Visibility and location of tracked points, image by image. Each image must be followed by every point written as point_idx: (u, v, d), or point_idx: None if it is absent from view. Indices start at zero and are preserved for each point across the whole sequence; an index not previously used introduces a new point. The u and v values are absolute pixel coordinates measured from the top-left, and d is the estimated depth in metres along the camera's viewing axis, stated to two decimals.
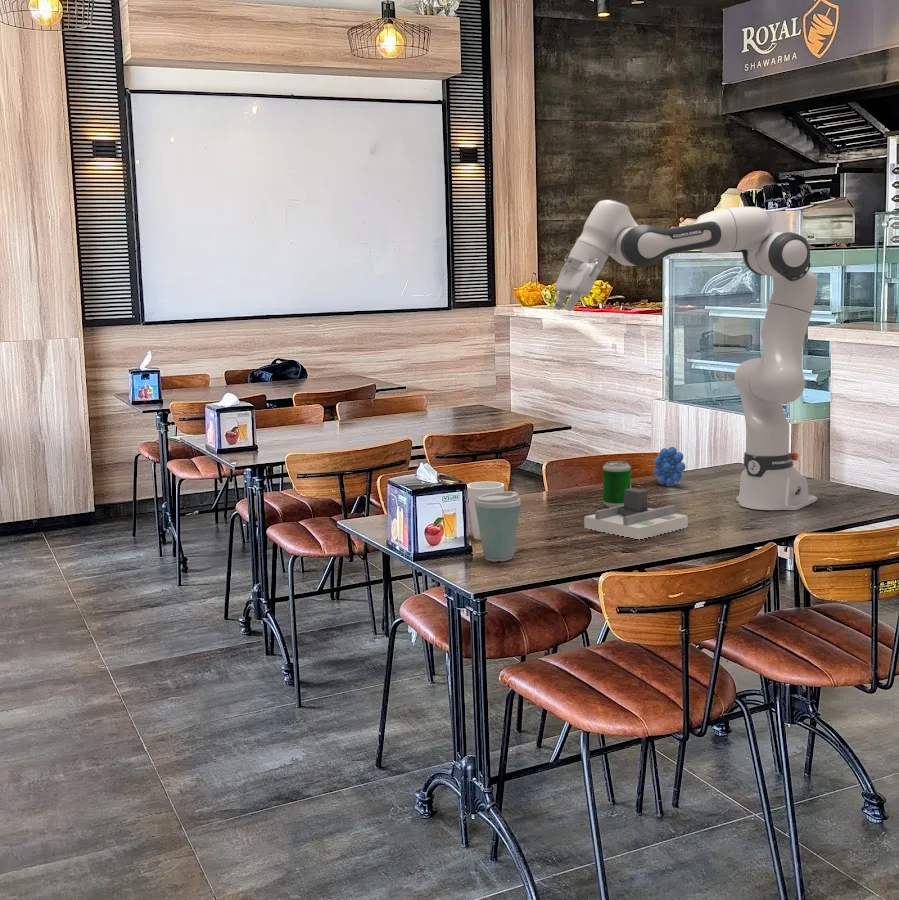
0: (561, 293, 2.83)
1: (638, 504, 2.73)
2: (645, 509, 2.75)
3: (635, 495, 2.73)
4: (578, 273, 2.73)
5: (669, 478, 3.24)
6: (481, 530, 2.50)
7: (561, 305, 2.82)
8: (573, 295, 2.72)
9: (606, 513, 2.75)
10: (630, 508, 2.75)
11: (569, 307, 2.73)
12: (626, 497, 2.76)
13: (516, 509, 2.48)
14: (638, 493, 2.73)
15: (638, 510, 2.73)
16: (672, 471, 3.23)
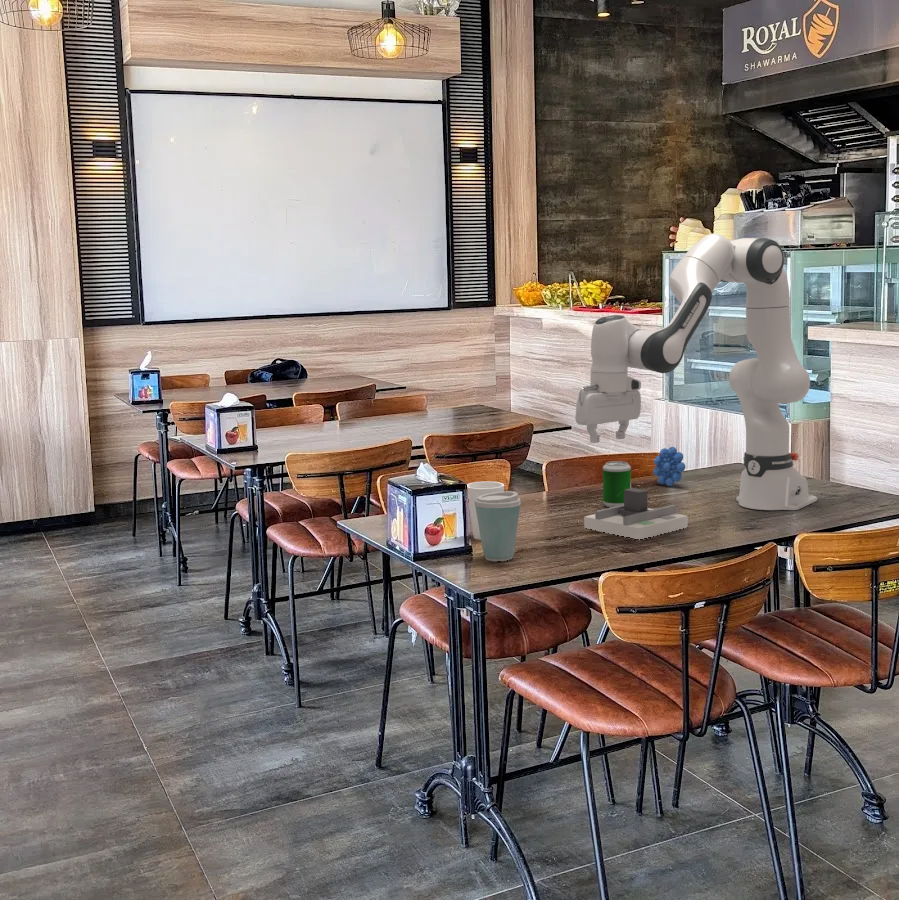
0: (620, 422, 2.72)
1: (638, 504, 2.73)
2: (645, 509, 2.75)
3: (635, 495, 2.73)
4: None
5: (669, 478, 3.24)
6: (481, 530, 2.50)
7: (620, 434, 2.71)
8: (587, 427, 2.64)
9: (606, 513, 2.75)
10: (630, 508, 2.75)
11: (592, 439, 2.65)
12: (626, 497, 2.76)
13: (516, 509, 2.48)
14: (638, 493, 2.73)
15: (638, 510, 2.73)
16: (672, 471, 3.23)
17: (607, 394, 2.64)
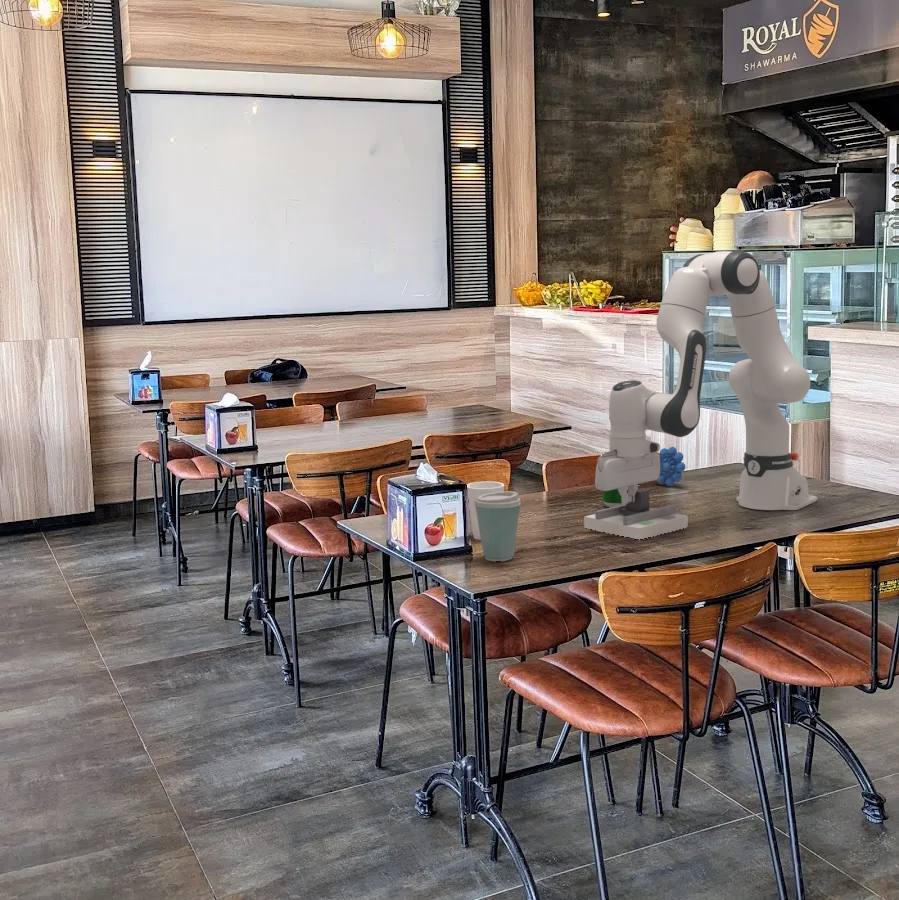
0: (629, 485, 2.74)
1: (640, 503, 2.73)
2: (647, 509, 2.75)
3: (636, 495, 2.74)
4: None
5: (669, 478, 3.24)
6: (481, 530, 2.50)
7: None
8: (618, 489, 2.72)
9: (606, 513, 2.75)
10: (632, 508, 2.76)
11: (624, 500, 2.73)
12: None
13: (516, 509, 2.48)
14: (640, 493, 2.73)
15: (640, 510, 2.74)
16: (672, 471, 3.23)
17: (626, 459, 2.69)
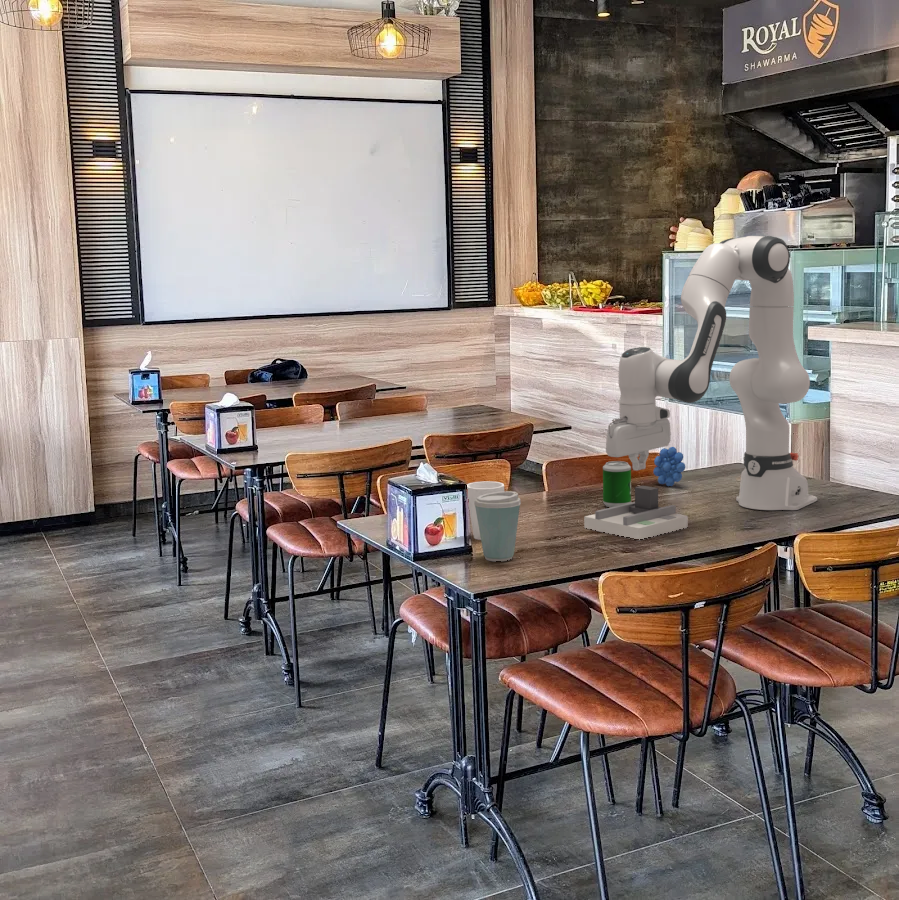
0: (640, 452, 2.75)
1: (649, 501, 2.76)
2: (656, 506, 2.77)
3: (646, 493, 2.76)
4: None
5: (669, 478, 3.24)
6: (481, 530, 2.50)
7: None
8: (629, 456, 2.73)
9: (606, 513, 2.75)
10: (641, 505, 2.78)
11: (635, 467, 2.74)
12: (637, 494, 2.78)
13: (516, 509, 2.48)
14: (649, 491, 2.75)
15: (649, 507, 2.76)
16: (672, 471, 3.23)
17: (636, 425, 2.70)
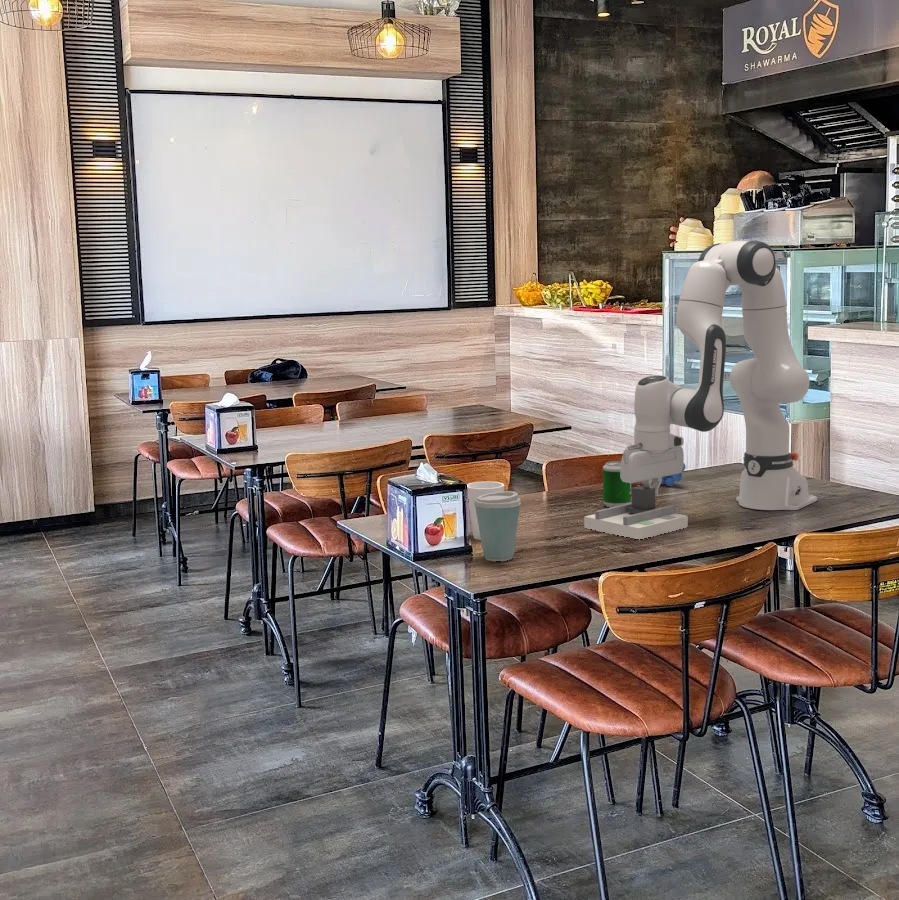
0: (653, 478, 2.80)
1: (646, 502, 2.75)
2: (653, 507, 2.76)
3: (643, 493, 2.75)
4: None
5: (669, 478, 3.24)
6: (481, 530, 2.50)
7: None
8: (643, 482, 2.78)
9: (606, 513, 2.75)
10: (638, 506, 2.77)
11: None
12: (634, 495, 2.78)
13: (516, 509, 2.48)
14: (646, 491, 2.74)
15: (646, 508, 2.75)
16: None
17: (650, 452, 2.75)
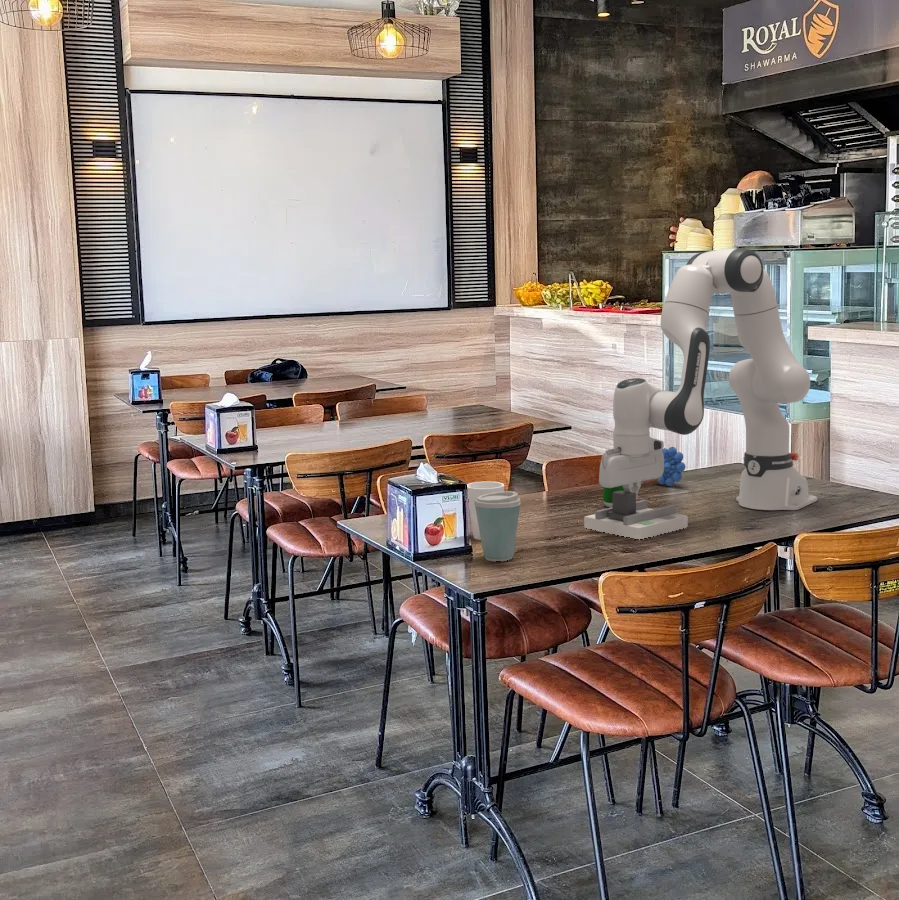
0: None
1: (626, 507, 2.70)
2: (634, 512, 2.72)
3: (623, 498, 2.71)
4: None
5: (669, 478, 3.24)
6: (481, 530, 2.50)
7: None
8: (623, 486, 2.73)
9: (606, 513, 2.75)
10: (618, 511, 2.73)
11: None
12: (615, 499, 2.73)
13: (516, 509, 2.48)
14: (626, 496, 2.70)
15: (626, 513, 2.71)
16: (672, 471, 3.23)
17: (630, 456, 2.70)
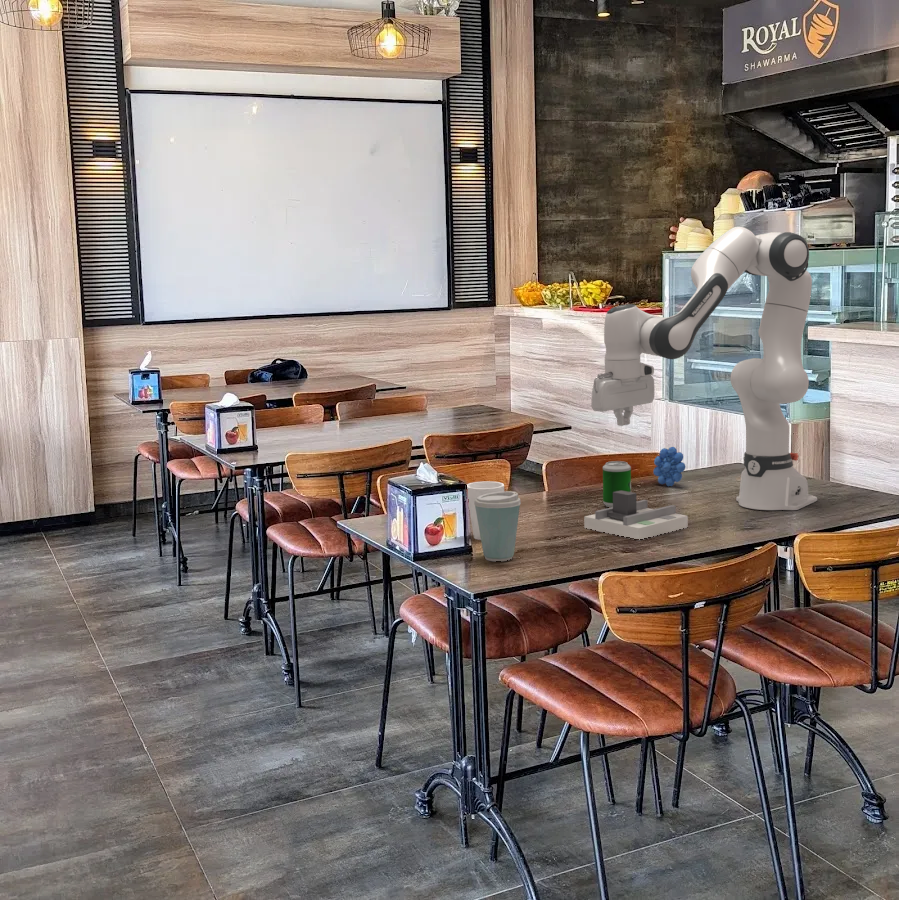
0: (624, 408, 2.80)
1: (627, 507, 2.71)
2: (634, 512, 2.72)
3: (624, 498, 2.71)
4: None
5: (669, 478, 3.24)
6: (481, 530, 2.50)
7: None
8: (614, 411, 2.78)
9: (606, 513, 2.75)
10: (619, 511, 2.73)
11: (619, 422, 2.79)
12: (615, 499, 2.73)
13: (516, 509, 2.48)
14: (627, 496, 2.70)
15: (627, 513, 2.71)
16: (672, 471, 3.23)
17: (621, 380, 2.75)
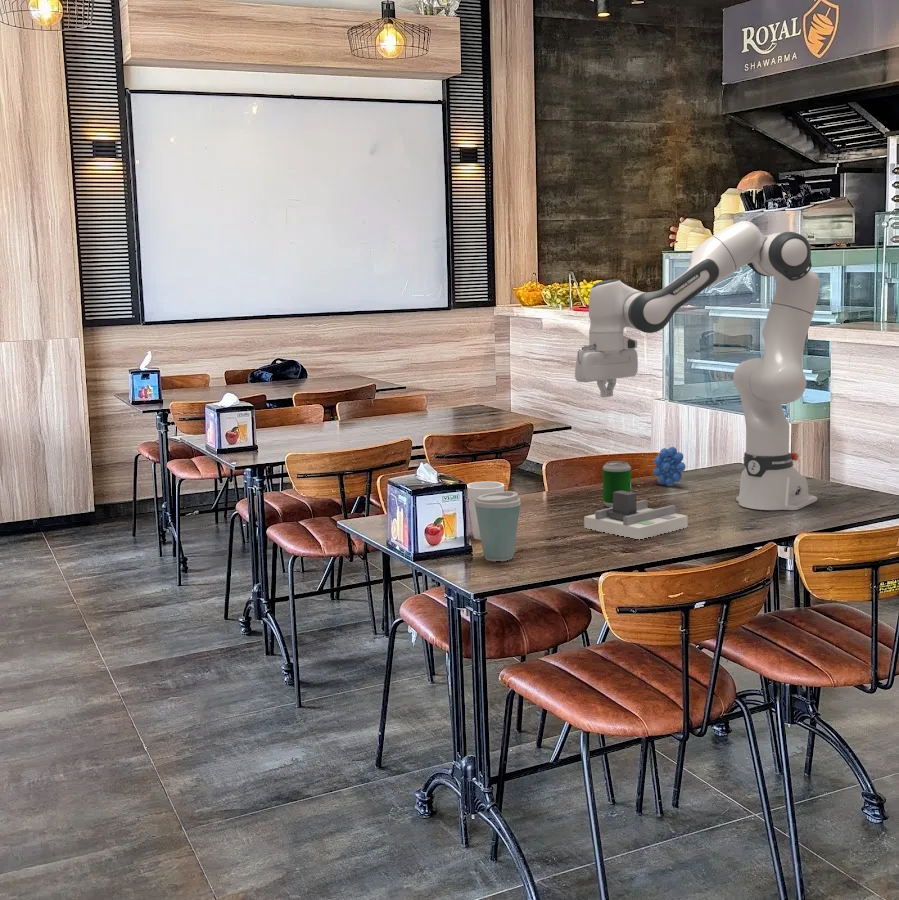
0: (608, 380, 2.89)
1: (627, 507, 2.71)
2: (634, 512, 2.72)
3: (624, 498, 2.71)
4: None
5: (669, 478, 3.24)
6: (481, 530, 2.50)
7: None
8: (597, 383, 2.87)
9: (606, 513, 2.75)
10: (619, 511, 2.73)
11: (602, 394, 2.87)
12: (615, 499, 2.73)
13: (516, 509, 2.48)
14: (627, 496, 2.70)
15: (627, 513, 2.71)
16: (672, 471, 3.23)
17: (604, 353, 2.83)
